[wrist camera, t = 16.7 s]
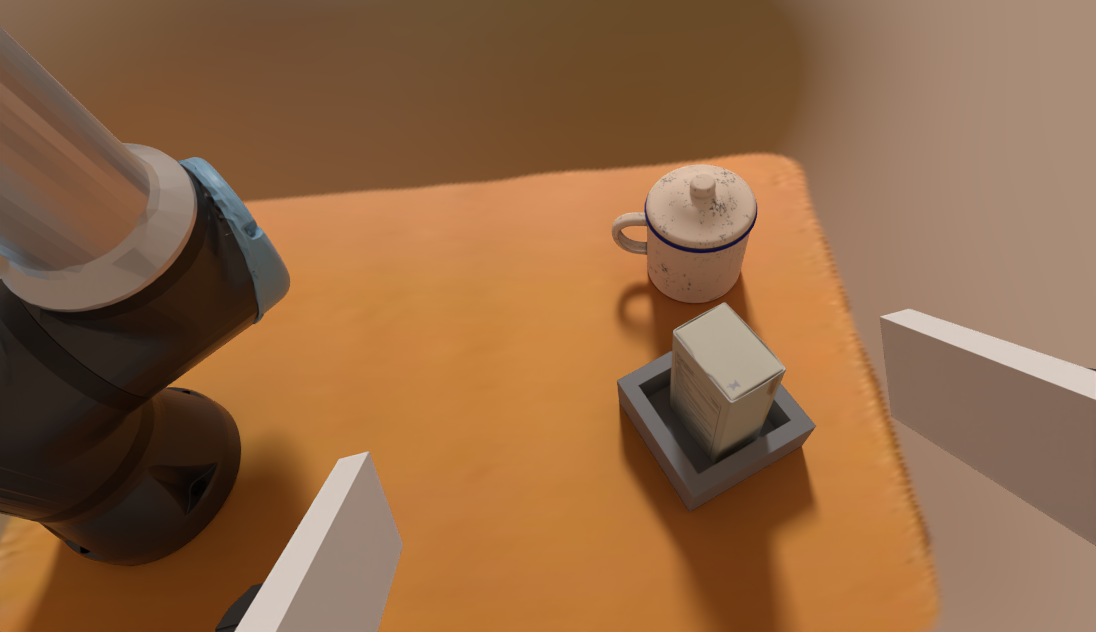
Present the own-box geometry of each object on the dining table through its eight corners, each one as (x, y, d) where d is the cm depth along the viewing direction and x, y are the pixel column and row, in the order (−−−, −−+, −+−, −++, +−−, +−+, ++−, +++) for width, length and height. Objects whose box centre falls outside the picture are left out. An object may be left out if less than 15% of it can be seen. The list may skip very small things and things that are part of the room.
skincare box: (759, 438, 46) (793, 372, 35) (713, 467, 45) (734, 408, 35) (708, 375, 49) (726, 297, 39) (665, 401, 48) (670, 329, 38)
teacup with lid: (741, 229, 57) (761, 139, 47) (743, 309, 53) (766, 227, 43) (618, 227, 60) (612, 140, 50) (610, 303, 55) (603, 225, 45)
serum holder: (689, 511, 45) (693, 497, 41) (619, 402, 50) (617, 380, 46) (801, 445, 46) (816, 426, 42) (721, 345, 51) (727, 319, 48)
